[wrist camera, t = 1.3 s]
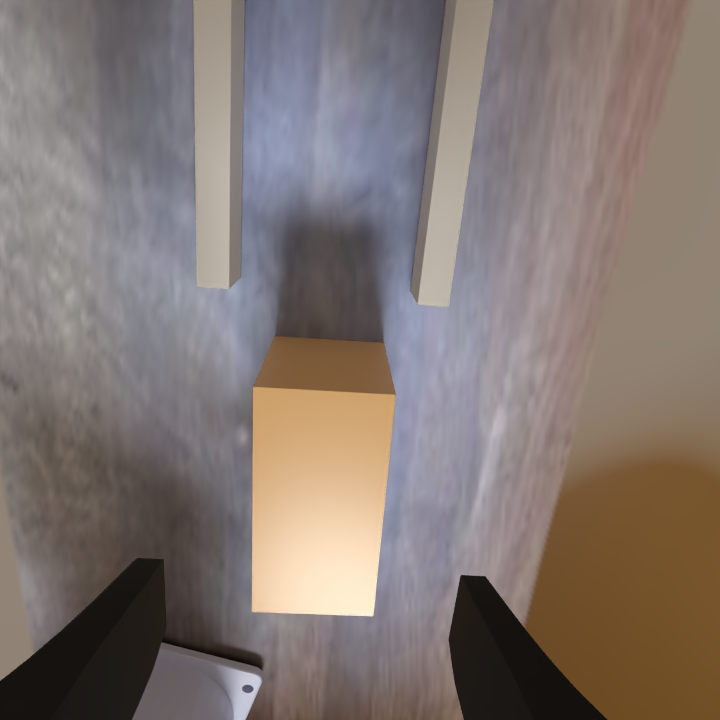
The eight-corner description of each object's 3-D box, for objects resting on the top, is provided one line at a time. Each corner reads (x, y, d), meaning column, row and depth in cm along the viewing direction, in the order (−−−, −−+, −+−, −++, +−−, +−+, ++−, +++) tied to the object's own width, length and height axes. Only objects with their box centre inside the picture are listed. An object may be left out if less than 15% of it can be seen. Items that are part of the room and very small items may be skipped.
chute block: (367, 522, 22) (373, 616, 18) (271, 518, 22) (251, 612, 17) (383, 341, 20) (395, 394, 15) (275, 335, 20) (253, 386, 15)
